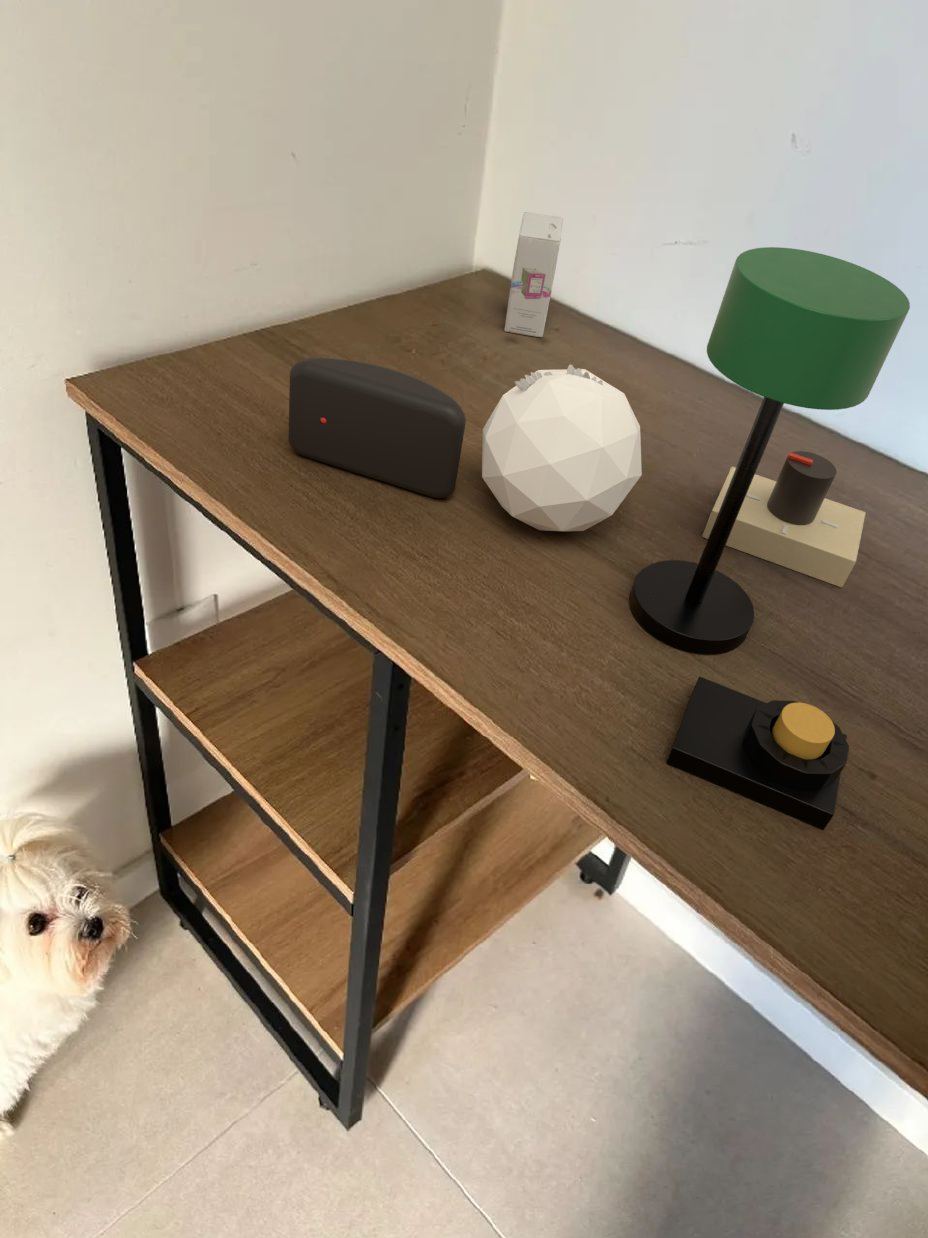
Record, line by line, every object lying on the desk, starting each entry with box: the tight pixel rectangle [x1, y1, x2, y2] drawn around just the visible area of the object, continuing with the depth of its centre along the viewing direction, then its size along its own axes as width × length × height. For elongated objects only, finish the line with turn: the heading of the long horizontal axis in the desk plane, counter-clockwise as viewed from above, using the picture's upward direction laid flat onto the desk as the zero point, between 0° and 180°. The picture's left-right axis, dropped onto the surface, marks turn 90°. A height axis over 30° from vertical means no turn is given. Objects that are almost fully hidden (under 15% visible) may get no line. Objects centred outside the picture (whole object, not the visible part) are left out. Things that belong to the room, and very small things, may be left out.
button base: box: [666, 675, 850, 831], centre depth 65 cm, size 11×8×4 cm
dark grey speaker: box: [287, 357, 467, 499], centre depth 83 cm, size 16×5×9 cm, turn 71°
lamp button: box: [773, 702, 835, 759], centre depth 63 cm, size 4×4×2 cm
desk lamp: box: [628, 246, 911, 656], centre depth 68 cm, size 11×11×28 cm
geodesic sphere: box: [481, 364, 643, 532], centre depth 80 cm, size 15×14×14 cm
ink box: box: [503, 212, 564, 338], centre depth 112 cm, size 8×5×12 cm, turn 174°
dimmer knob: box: [767, 450, 837, 525], centre depth 84 cm, size 4×4×5 cm
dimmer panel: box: [701, 466, 866, 588], centre depth 86 cm, size 13×9×3 cm
